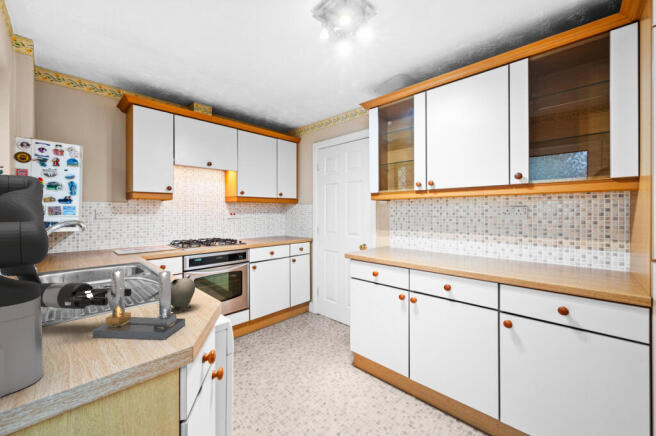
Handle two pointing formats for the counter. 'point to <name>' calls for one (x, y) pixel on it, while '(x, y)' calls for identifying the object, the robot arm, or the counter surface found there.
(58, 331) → the counter surface
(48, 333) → the counter surface
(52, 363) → the counter surface
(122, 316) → the sliding leg
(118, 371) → the counter surface
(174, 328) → the pitch plate
